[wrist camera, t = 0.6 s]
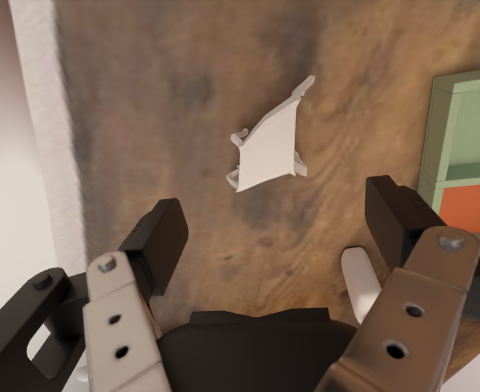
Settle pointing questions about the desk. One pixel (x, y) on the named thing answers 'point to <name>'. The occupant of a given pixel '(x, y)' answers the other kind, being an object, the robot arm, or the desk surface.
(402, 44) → the desk surface
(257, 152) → the origami figure
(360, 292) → the eye dropper bottle
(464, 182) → the organizer
